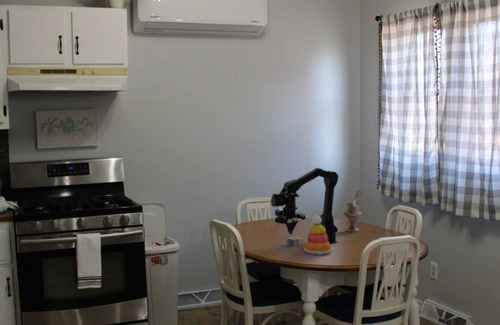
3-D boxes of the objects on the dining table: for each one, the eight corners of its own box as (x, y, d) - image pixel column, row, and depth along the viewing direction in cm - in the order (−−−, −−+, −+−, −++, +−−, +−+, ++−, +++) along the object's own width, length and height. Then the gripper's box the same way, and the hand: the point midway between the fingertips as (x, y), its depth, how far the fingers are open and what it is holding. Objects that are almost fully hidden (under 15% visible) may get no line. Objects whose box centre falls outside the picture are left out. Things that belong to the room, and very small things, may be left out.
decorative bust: (354, 232, 324) (354, 190, 326) (340, 231, 335) (340, 190, 337) (368, 232, 330) (367, 190, 332) (354, 231, 341) (353, 190, 343)
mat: (310, 244, 300) (310, 244, 300) (285, 250, 286) (285, 250, 286) (296, 241, 307) (296, 241, 307) (271, 247, 294) (271, 247, 294)
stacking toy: (337, 252, 283) (337, 214, 282) (321, 257, 273) (321, 218, 271) (314, 247, 293) (314, 211, 291) (298, 252, 282) (298, 215, 280)
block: (293, 246, 294) (303, 244, 300) (293, 240, 294) (303, 237, 300) (287, 245, 298) (296, 242, 304) (287, 238, 298) (296, 236, 303)
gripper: (290, 201, 307) (291, 229, 308) (267, 205, 294) (267, 234, 295) (306, 204, 298) (306, 232, 300) (282, 208, 286) (282, 237, 287)
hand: (290, 234), depth 296 cm, fingers closed
